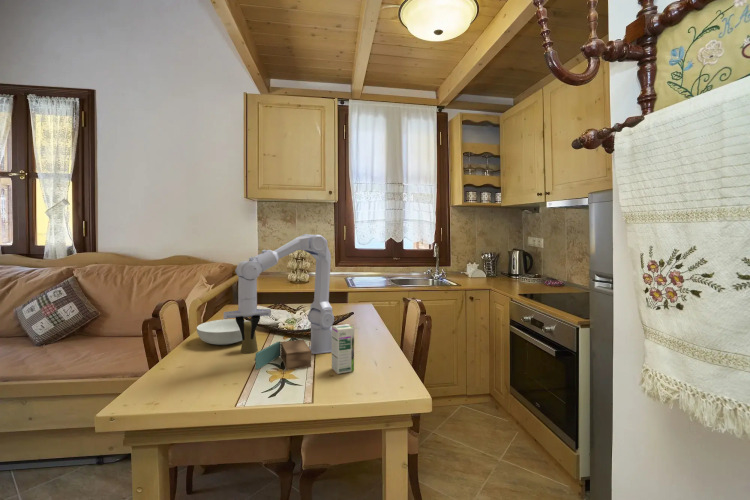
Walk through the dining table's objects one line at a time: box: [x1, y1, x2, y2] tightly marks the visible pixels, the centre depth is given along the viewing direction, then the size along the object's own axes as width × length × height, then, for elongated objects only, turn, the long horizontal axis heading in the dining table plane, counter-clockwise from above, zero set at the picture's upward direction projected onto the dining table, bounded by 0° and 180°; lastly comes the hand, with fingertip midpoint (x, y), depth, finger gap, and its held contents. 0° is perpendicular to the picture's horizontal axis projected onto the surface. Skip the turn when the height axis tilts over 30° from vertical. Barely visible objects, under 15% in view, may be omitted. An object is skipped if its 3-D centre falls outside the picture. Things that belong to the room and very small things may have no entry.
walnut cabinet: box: [280, 339, 312, 371], centre depth 124 cm, size 8×13×6 cm, turn 23°
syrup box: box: [331, 323, 355, 375], centre depth 117 cm, size 6×6×14 cm
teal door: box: [254, 341, 282, 370], centre depth 122 cm, size 2×13×5 cm, turn 163°
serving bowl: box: [196, 318, 249, 346], centre depth 144 cm, size 21×21×7 cm
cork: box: [240, 320, 259, 355], centre depth 133 cm, size 6×6×11 cm
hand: (247, 338), depth 118 cm, fingers open, 2 cm apart
